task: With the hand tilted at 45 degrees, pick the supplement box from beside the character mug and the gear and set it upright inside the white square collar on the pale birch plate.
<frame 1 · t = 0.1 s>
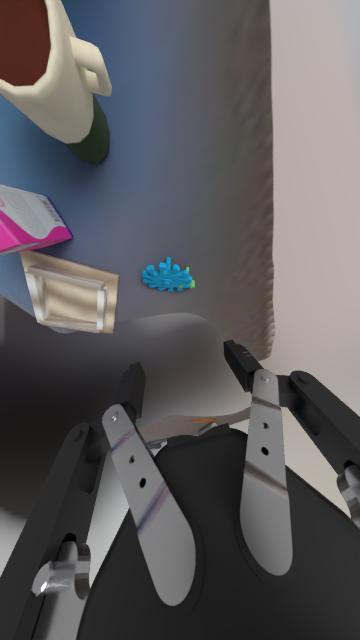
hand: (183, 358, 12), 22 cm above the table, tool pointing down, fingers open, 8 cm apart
motor: (196, 424, 88), on the table
gear: (168, 274, 30), on the table
character mug: (86, 130, 18), on the table
supplement box: (47, 224, 22), on the table
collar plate: (78, 298, 30), on the table
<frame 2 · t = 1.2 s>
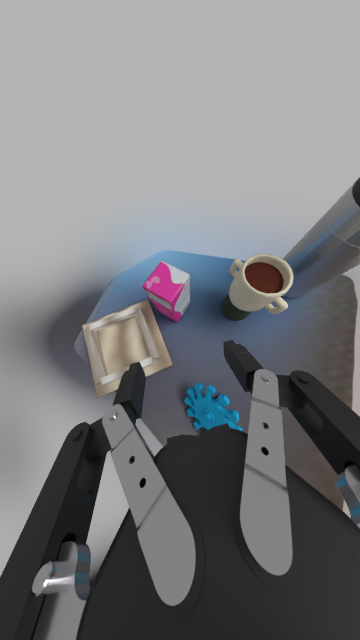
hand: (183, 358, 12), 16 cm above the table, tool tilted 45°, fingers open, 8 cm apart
gear: (207, 408, 26), on the table
character mug: (234, 308, 31), on the table
supplement box: (173, 307, 32), on the table
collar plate: (126, 344, 30), on the table
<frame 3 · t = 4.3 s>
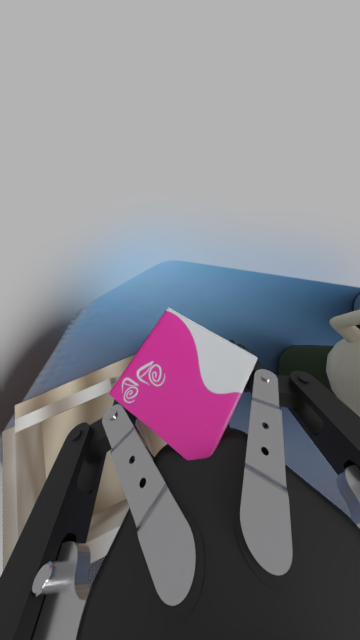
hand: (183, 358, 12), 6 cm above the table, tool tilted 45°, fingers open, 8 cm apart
character mug: (298, 370, 17), on the table
supplement box: (186, 366, 18), on the table, touching gripper
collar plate: (97, 446, 15), on the table
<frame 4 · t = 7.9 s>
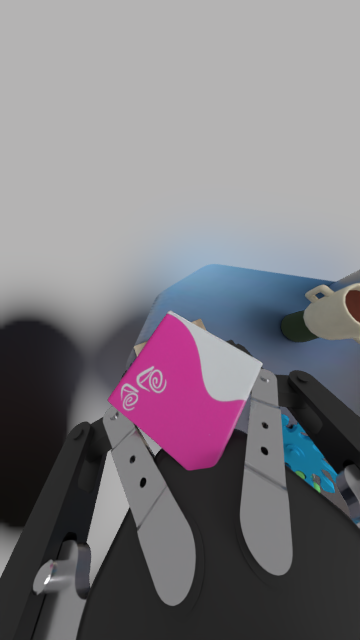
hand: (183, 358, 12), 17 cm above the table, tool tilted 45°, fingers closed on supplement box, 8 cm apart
gear: (279, 438, 24), on the table
character mug: (292, 328, 29), on the table
supplement box: (187, 368, 17), point 11 cm above the table, touching gripper
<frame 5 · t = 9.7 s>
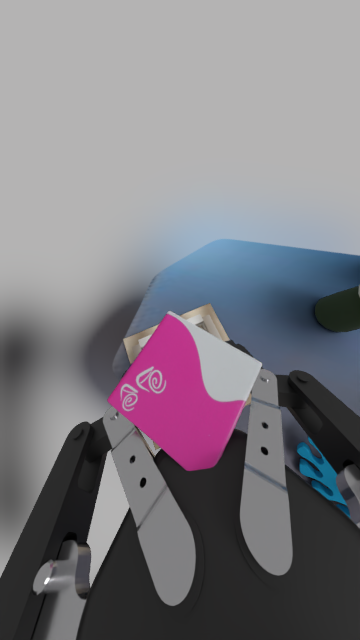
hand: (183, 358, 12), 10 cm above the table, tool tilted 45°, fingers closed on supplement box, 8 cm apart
gear: (325, 463, 17), on the table
character mug: (329, 315, 23), on the table
supplement box: (186, 368, 17), point 4 cm above the table, touching gripper
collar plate: (186, 366, 21), on the table
when the fingers open (7 cm above the table, at t = 11.0 s): supplement box stays where it is, resting on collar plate.
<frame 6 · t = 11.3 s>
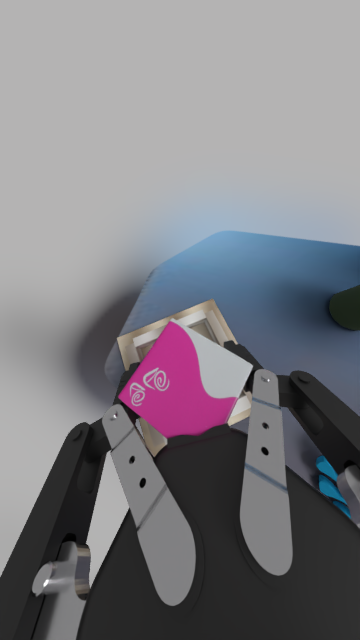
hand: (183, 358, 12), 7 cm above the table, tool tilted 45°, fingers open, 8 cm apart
gear: (348, 480, 15), on the table
character mug: (344, 312, 21), on the table
supplement box: (186, 369, 18), point 1 cm above the table, touching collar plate, gripper
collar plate: (186, 368, 19), on the table
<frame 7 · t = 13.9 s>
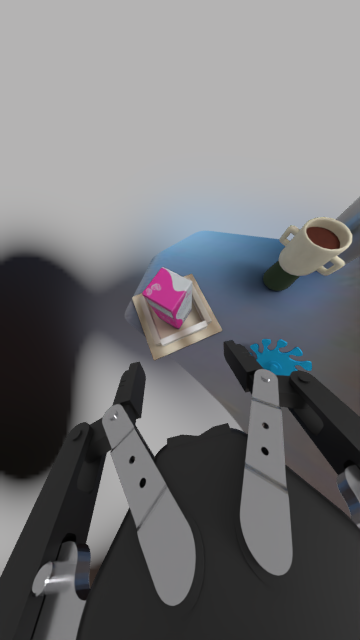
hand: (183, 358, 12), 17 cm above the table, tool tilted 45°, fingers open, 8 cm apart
gear: (263, 368, 27), on the table
character mug: (273, 281, 33), on the table
supplement box: (174, 313, 31), point 1 cm above the table, touching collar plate
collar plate: (174, 314, 31), on the table
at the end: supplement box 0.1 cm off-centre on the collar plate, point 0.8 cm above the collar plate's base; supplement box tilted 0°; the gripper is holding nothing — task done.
